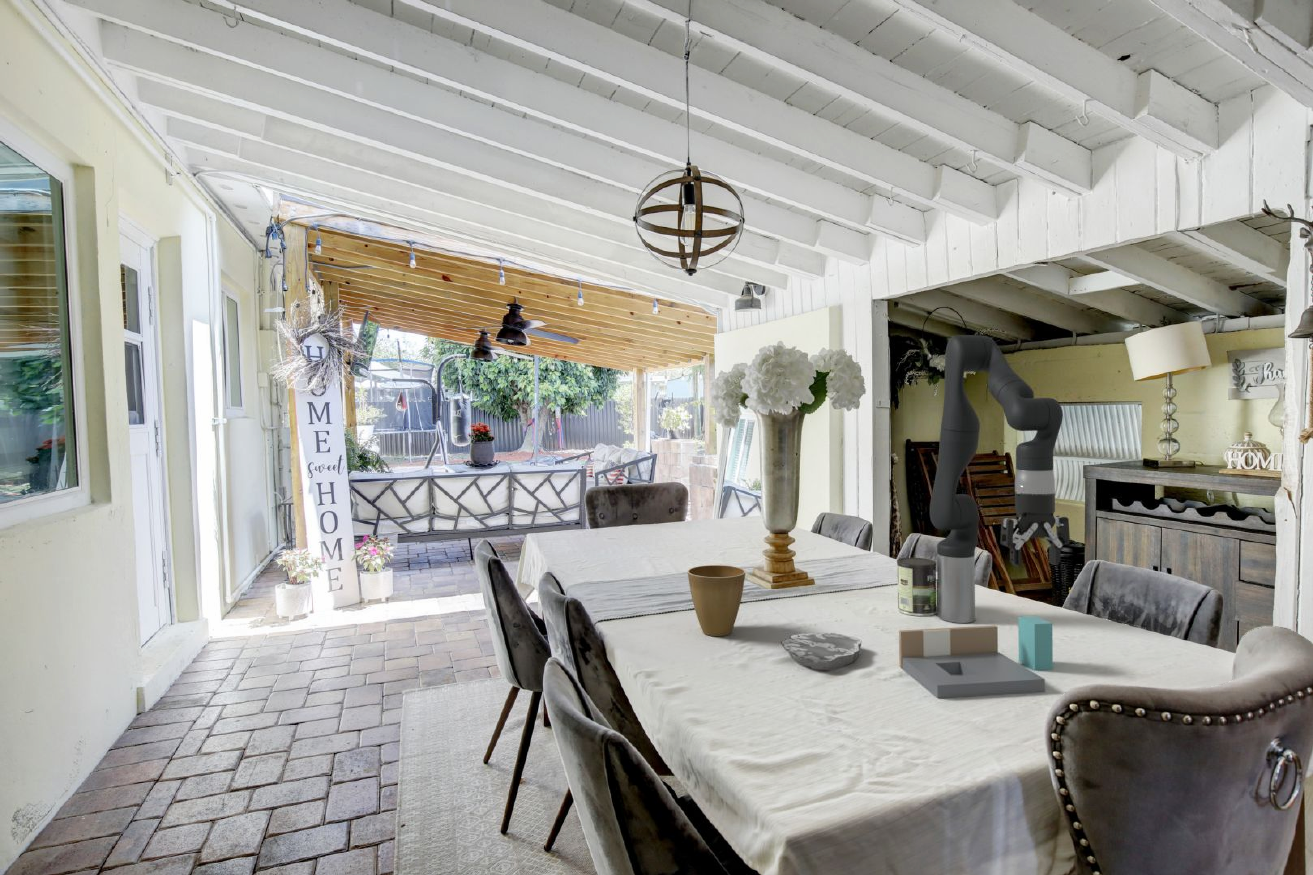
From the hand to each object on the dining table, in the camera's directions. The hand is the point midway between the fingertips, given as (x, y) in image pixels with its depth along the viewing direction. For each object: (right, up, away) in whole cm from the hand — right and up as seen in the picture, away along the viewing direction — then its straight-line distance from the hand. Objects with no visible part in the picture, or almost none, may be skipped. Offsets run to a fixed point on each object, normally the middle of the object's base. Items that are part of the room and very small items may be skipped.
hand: (1035, 565), depth 144 cm
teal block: (0, -22, +1) cm, 22 cm away
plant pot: (-66, -23, +28) cm, 75 cm away
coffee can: (-9, -21, +42) cm, 48 cm away
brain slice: (-44, -23, +9) cm, 51 cm away
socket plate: (-17, -23, -6) cm, 29 cm away
